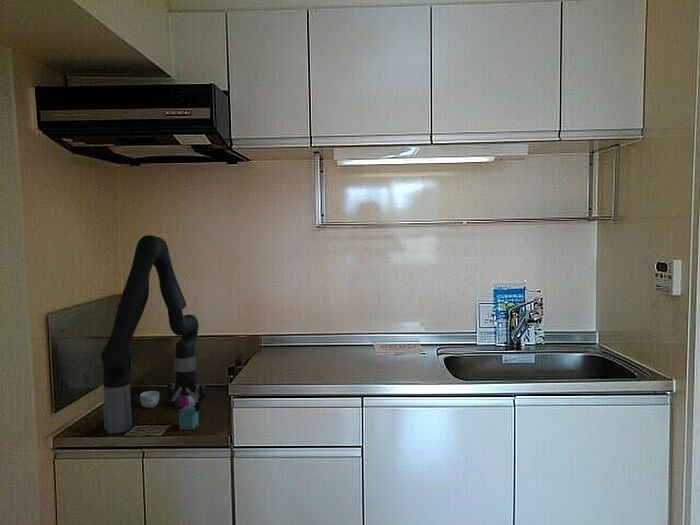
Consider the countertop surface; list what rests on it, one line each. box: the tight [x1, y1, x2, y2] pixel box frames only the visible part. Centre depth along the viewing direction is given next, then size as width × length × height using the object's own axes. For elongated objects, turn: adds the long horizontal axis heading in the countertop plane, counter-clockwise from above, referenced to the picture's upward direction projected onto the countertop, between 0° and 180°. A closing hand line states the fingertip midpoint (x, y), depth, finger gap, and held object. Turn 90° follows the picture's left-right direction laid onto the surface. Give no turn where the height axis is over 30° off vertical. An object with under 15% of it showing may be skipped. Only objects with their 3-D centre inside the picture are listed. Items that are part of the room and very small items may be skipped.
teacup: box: [139, 390, 160, 409], centre depth 244 cm, size 10×8×5 cm
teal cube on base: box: [178, 407, 199, 429], centre depth 219 cm, size 5×5×7 cm
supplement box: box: [177, 393, 195, 409], centre depth 243 cm, size 6×6×12 cm
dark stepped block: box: [178, 423, 201, 431], centre depth 219 cm, size 6×6×6 cm
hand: (186, 410), depth 217 cm, fingers open, 8 cm apart
